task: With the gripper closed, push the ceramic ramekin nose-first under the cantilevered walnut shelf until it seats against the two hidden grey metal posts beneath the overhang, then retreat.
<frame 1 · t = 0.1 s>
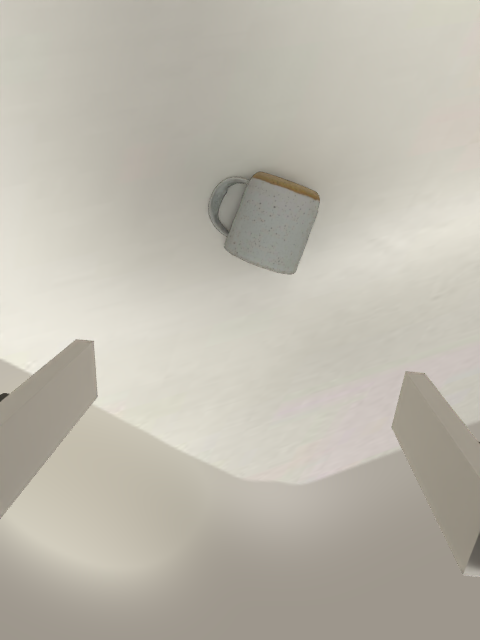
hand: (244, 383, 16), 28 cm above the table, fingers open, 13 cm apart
ceramic mug: (260, 217, 41), on the table
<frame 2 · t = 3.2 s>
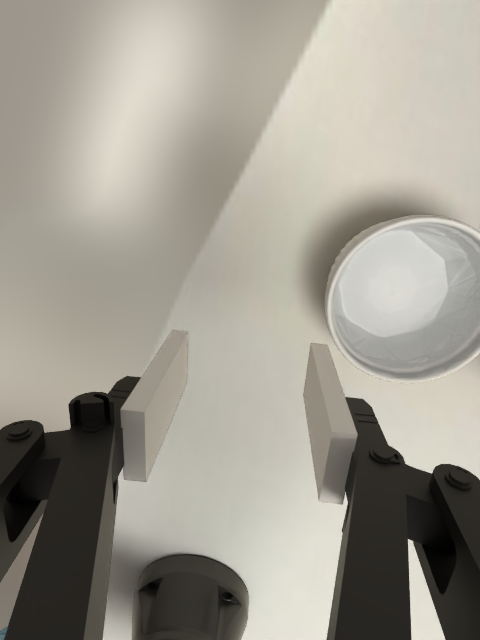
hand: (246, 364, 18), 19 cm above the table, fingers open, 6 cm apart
ramekin: (388, 282, 35), on the table
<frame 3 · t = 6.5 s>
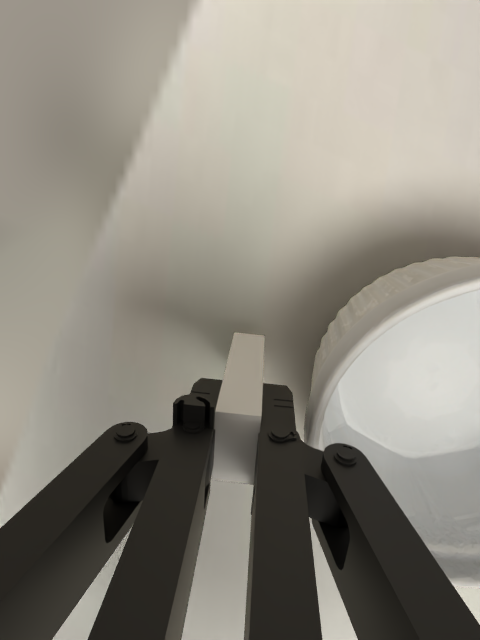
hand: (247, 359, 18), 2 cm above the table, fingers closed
ramekin: (423, 363, 20), on the table, touching gripper
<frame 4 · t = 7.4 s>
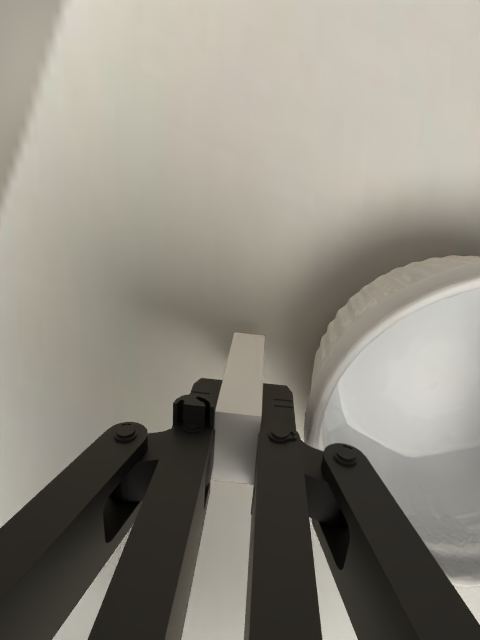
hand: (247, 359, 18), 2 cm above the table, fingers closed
ramekin: (423, 362, 20), on the table, touching gripper
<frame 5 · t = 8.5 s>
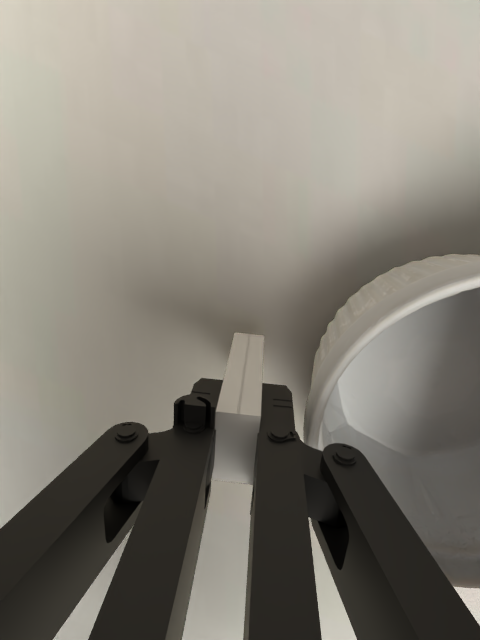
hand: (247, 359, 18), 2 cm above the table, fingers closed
ramekin: (424, 361, 20), on the table, touching gripper, walnut shelf
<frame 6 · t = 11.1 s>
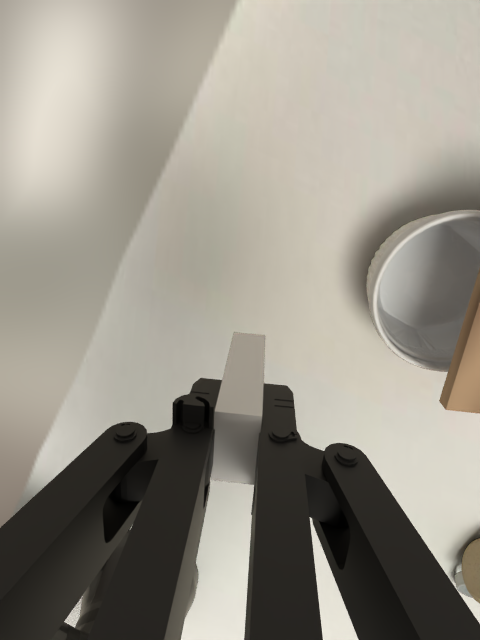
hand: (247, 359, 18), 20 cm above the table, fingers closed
walnut shelf: (470, 280, 36), on the table
ramekin: (425, 275, 37), on the table
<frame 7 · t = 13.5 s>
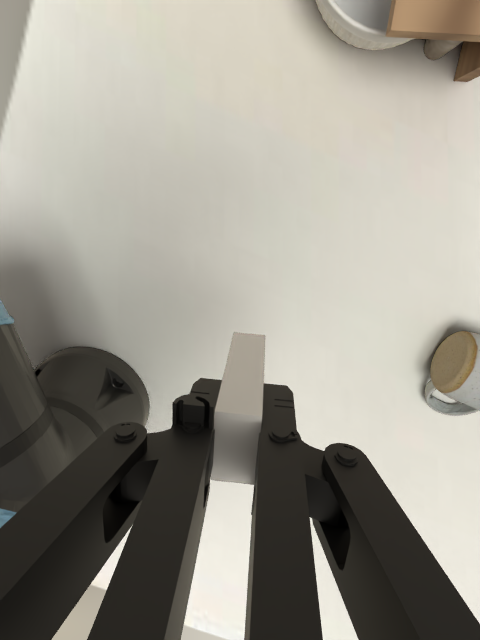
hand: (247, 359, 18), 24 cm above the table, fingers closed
ceramic mug: (461, 368, 44), on the table
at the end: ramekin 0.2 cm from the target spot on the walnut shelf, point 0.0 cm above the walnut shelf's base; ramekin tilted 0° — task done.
